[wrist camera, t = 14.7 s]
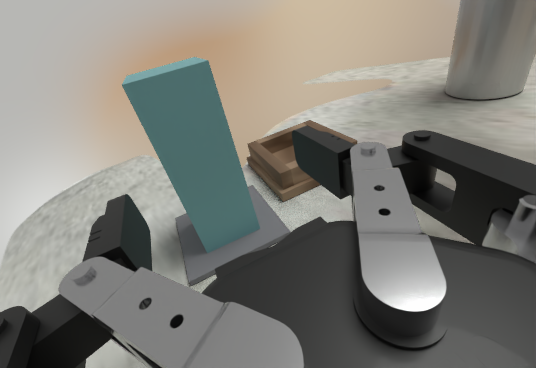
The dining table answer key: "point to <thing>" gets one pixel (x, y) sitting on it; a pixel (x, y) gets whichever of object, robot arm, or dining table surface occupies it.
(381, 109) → the dining table surface
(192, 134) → the block
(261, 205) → the rubber mat
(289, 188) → the square wooden tray
